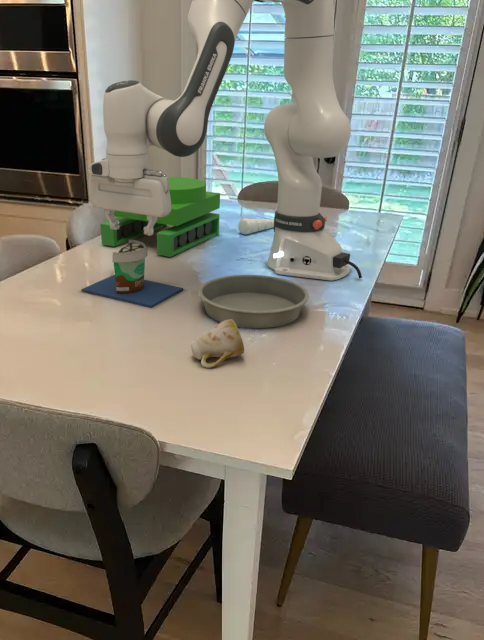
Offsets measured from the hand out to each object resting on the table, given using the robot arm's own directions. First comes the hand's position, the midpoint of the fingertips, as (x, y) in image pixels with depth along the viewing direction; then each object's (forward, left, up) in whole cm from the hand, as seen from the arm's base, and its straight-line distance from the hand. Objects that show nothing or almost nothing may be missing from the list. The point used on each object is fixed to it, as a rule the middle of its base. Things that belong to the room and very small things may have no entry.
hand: (131, 231), depth 138 cm
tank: (+19, -39, -14) cm, 46 cm away
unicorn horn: (-2, -72, -14) cm, 73 cm away
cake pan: (-30, -4, -14) cm, 33 cm away
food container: (0, 0, -14) cm, 14 cm away
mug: (-35, +22, -14) cm, 44 cm away
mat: (0, 0, -14) cm, 14 cm away
